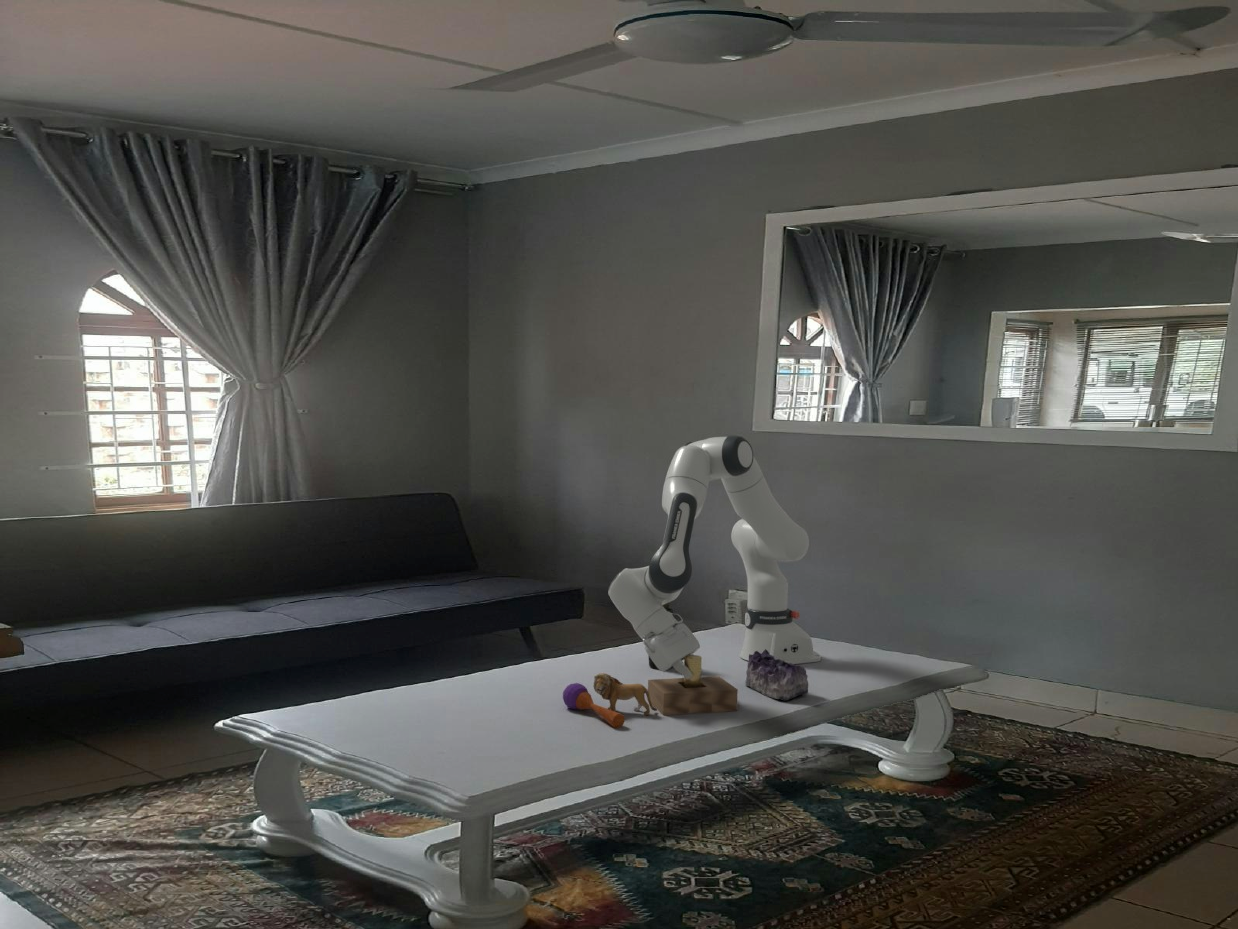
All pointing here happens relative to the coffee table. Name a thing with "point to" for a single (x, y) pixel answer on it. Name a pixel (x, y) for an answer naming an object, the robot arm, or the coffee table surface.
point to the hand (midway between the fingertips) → (695, 674)
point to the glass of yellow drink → (695, 665)
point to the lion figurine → (621, 692)
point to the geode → (775, 677)
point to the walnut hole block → (692, 696)
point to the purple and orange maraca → (589, 704)
